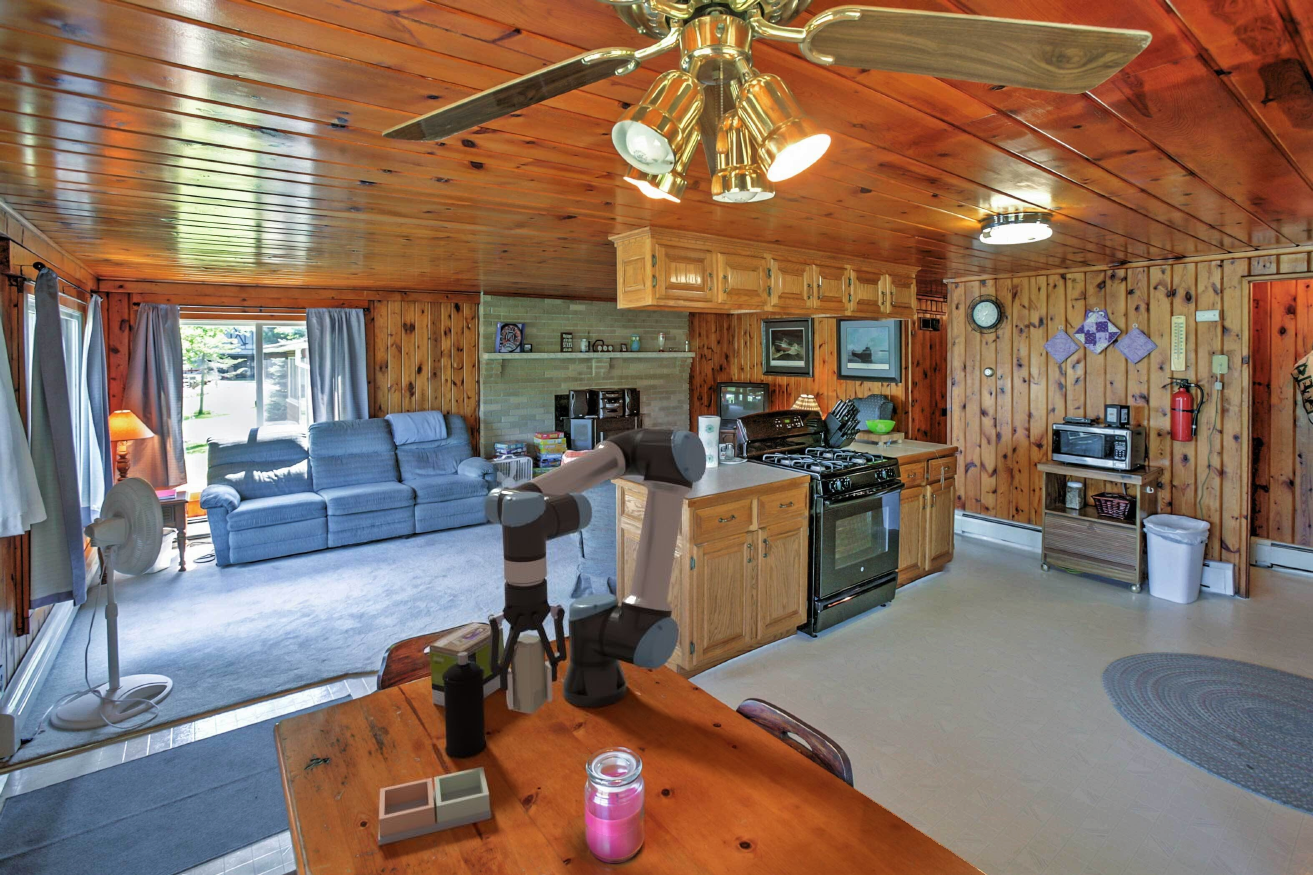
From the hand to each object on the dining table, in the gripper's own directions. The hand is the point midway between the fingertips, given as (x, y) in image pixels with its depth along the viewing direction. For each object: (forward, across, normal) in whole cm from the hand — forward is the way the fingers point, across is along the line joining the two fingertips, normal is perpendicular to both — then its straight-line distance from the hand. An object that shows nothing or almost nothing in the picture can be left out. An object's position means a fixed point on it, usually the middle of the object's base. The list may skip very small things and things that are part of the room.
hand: (529, 701), depth 122 cm
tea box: (+17, +7, -41) cm, 45 cm away
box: (+1, 0, 0) cm, 1 cm away
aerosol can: (+17, +10, -18) cm, 27 cm away
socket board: (+16, +17, +1) cm, 24 cm away
